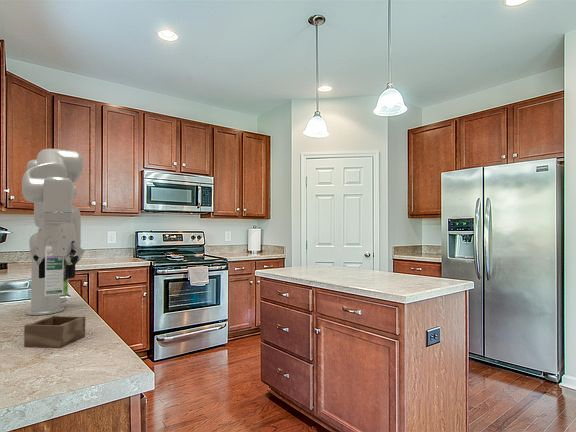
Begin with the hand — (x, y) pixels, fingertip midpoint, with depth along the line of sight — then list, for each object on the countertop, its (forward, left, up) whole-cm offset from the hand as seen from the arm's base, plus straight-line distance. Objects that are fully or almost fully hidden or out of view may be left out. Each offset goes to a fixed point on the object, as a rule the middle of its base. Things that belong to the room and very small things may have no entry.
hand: (56, 277), depth 110 cm
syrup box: (0, 0, -5) cm, 5 cm away
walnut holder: (0, 0, -19) cm, 19 cm away
